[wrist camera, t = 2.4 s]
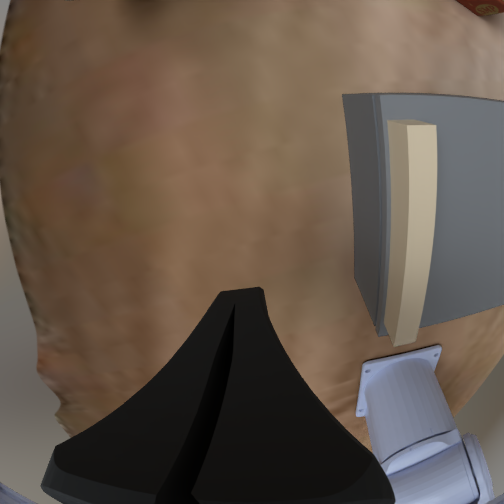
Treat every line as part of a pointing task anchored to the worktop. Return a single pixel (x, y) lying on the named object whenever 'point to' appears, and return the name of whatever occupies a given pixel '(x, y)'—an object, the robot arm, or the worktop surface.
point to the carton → (484, 6)
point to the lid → (439, 210)
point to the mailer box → (368, 191)
